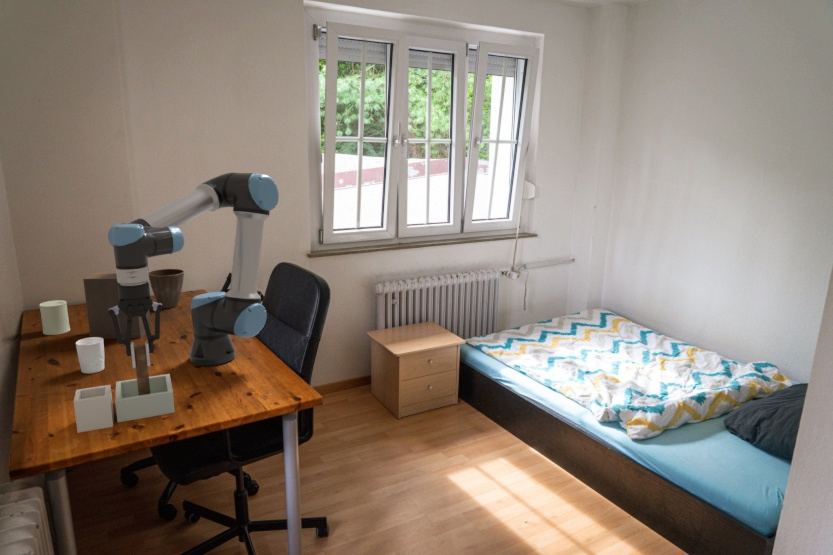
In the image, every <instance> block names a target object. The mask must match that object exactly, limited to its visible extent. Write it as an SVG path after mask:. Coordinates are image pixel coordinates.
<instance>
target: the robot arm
mask: <svg viewBox="0 0 833 555" xmlns="http://www.w3.org/2000/svg"><path fill="white" fill-rule="evenodd" d="M279 193H280V192H279V188H278V185H277V184H276V183H275V180H274V179H273V178H272V177H271V176H270V175H267V174H262V173H257V172H253V173H252V172H227V173H224V174H223V173H222V174H220V175H218V176H215V177H213V178H210V179H208V180H206V181H204V182H202V183H200V184H199V185H197V186H196V188H195V190H193V191H192V192H189V193H187V194H186V195H184V196H181V197H179V198H177V199H175V200H173V201H171V202H169V203H168V204H165V205H163V206H162V207H159V208H157V209H155V210H153V211H151V212H149V213H147V214H145V215H143V216H140V217H139V218H137V219H135V220H132V221H130V222H128V223H115V224H113V225H112V226H111V227H109V230H108V232H107V240H108V242H109V244H110V245H111V247H113V248H112V249H113V254H114V261H115V262H114V263H115V273H116V274H117V282H118V283H120V284H119V285H118V293H119V302H118V305H117V306H115V307H113V308H112V307H111V308H109V310H108V313H109V314H110V316H111V317H112V319H113V324H114V328H115V332H116V337H117V338H116V340H117V341H116V342H117V344H118V345H124V346H125V350H126V352H125V353H126V356H127V357H131V364H132V368H133V369H136V363H135V353H134V346H135V342H131V339H132V338H131V328H132V317H136V316H139V317H141V318H142V321H143V325H144V329H145V332H146V340H144V342H145V343H144V345H145V346H146V356H147V366H148V367H150V366H151V357H150V356H151V355H150V354H154V353H155V352H154V350H155V348H154V342H155V341H157V340H159V339H160V335H161V312H162V310H163V308H162V307H163V306H162V303H158V302H157V301H153V299H152V298H151V289H150V282H149V276H148V273H149V271H148V270H149V266H148V267H147V260H148V258H154V257H158V256H164V255H172V254H175V253H178V252H180V251H182V249H183V248H184V245H185V236H184V234H183V231H182V230H181V229H180V228H179V227H180V226H182V225H185V224H186V223H189V222H190V221H192V220H193V219H195V218H197V217H199V216H202V215H203V214H205V213H208V212H215V211H217V210H219V209H223V208H232V213H233V214H234V215H235V217H236V227H235V228H236V229H235V235H234V236H235V237H234V245H233V246H234V247H233V256H232V266H231V277H230V288H229V290H228V291H227V292H225V291H212V292H211V291H210V292H206V293H202V294H198V295H196V296H195V295H194V296H193V297H192V299H191V301H190V306H191V307H190V312H191V322H192V332H193V340H192V344H191V348H190V351H189V361H190V363H192V364H193V365H196V366H204V367H205V366H217V365H222V364H226V363H228V362H230V361H233V360H234V359H235V358H236V355H237V353H236V348H235V346H234V342H233V340H232V338H231V336H236V337H238V338H249V339H250V338H253V337H255V336H257V335H258V334H259V333H260V331H262V330H263V328H264V326H265V325H266V322H267V315H268V313H267V310H266V307H265V306H264V305H263V304H261V302H262V300H261V299H262V297H261V296H260V294H259V293H258V284H259V274H260V272H259V271H260V266H261V265H260V264H261V255H262V254H261V253H262V243H263V234H264V224H265V220H267V219H268V218H269V217H270V212H271V211H272V210H274V209H275V208H276V206H277V205H278V203H279V196H280V194H279ZM151 308H152V309H153V311H154V334H152V331H150V327H149V323H148V319H147V316H146V313H147V312H148V310H149V311H150V309H151ZM119 309H120V310H121V311H122V312H123V313H124V314H125V315H127V326H126V338H123V337H122V333H121V328H120V324H119V319H118V313H119V311H118V310H119ZM230 335H231V336H230Z"/></svg>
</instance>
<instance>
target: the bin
mask: <svg viewBox="0 0 833 555" xmlns="http://www.w3.org/2000/svg"><path fill="white" fill-rule="evenodd" d="M149 383H150V394H147V395H141V396H139V394H138V385H137V378H132V379H125V380H119V381H116V382H115V394H114V396H115V398H114V404H115V414H116V420H117V423H123V422H129V421H133V420H139V419H145V418H150V417H151V418H152V417H157V416H162V415H168V414H174V413H175V402H174V401H175V400H174V389H173V386H172V379H171V374H170V373H166V374H158V375H152V376H149Z"/></svg>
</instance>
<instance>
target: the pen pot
mask: <svg viewBox="0 0 833 555" xmlns="http://www.w3.org/2000/svg"><path fill="white" fill-rule="evenodd" d="M112 395H113V394H112V387H111V384H106V385H99V386H92V387H86V388H80V389H76V390H75V393H74V398H73V407H74V416H75V423H76V424H75V425H76V431H77V434H80V433H85V432H90V431H97V430H102V429H107V428H112V427H114V420H115V419H114V418H115V413H114V404H113V396H112Z"/></svg>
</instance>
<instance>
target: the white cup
mask: <svg viewBox="0 0 833 555" xmlns="http://www.w3.org/2000/svg"><path fill="white" fill-rule="evenodd" d="M104 342H105V341H104V338H100V337H90V336H89V337H85V338H81V339H78V340H77V341H76V342H75V347H76V353H77V358H78V362H79V365H80V371H81V373H83V374H89V375H90V374H95V373H99V372H101V371H103V370H104V369H105V368H106V367H105V346H104V345H105V344H104Z"/></svg>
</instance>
